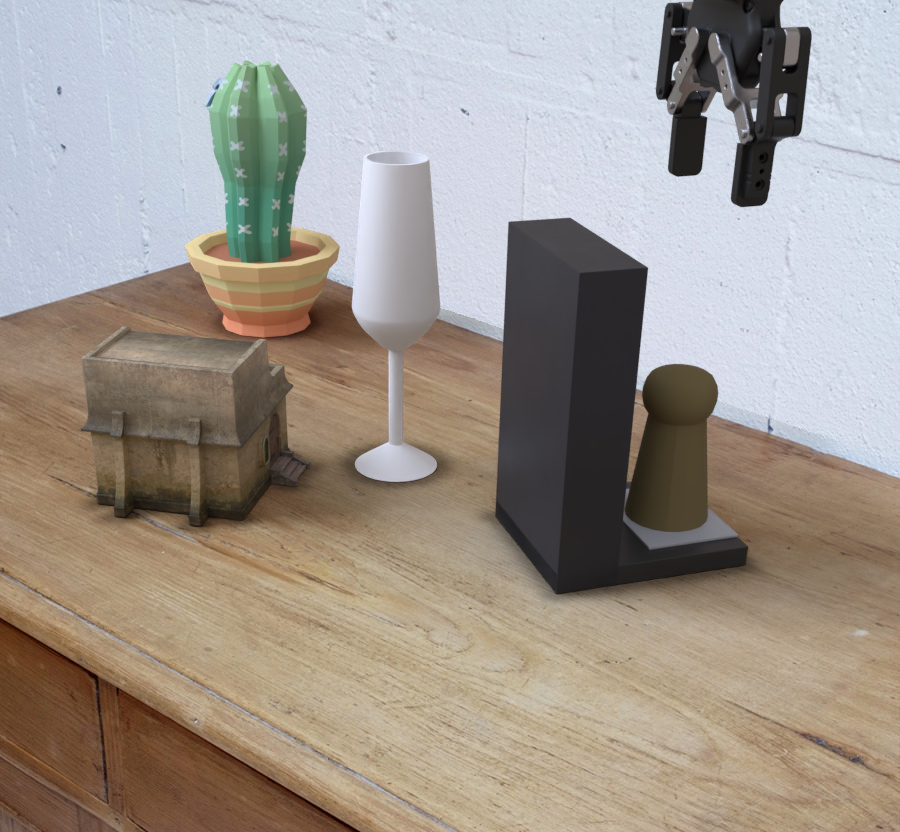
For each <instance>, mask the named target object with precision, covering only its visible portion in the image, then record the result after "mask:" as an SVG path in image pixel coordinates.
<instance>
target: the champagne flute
mask: <svg viewBox="0 0 900 832" xmlns="http://www.w3.org/2000/svg"><path fill="white" fill-rule="evenodd" d="M361 169H362V172H361V184H360V197H359V208H358V222H357V233H356V248H355V262H354V272H353V275H354V276H353V287H352V299H351V309H352V314H353V316H354V317H355V319H356V321H357V323H358V324H359V326H360V327H361V329H362V330H363V331H364V332H365V333H367V335H368V336H370V338H371V339H373V341H375V342H376V343H377V344H378V345H379V346H380V347H382V348H384V349H387V351H388V441H386V442H385V443H383V444H381V445H378V446H377V447H375V448H372V449H370V450H368V451H367V452H365V453H363V454H361V455H359V456H358V457H357V458H356V459H355V461H354V467H355V469H356V471H357V472H358V473H359V474H361V475H362V476H365V477H367V478H369V479H372V480H375V481H381V482H389V483H401V482H404V483H405V482H411V481H417V480H421V479H424V478H426V477H428V476H430V475H432V474H433V473H434V472H435V471H436V469H437V467H438V463H437V460H436V459H435V458H434V457H433V456H432V455H431V454H429V453H427V452H426V451H423V450H421V449H419V448H417V447H416V446H413V445H411V444H409V443H407V442H406V441H404V390H405V389H404V387H405V386H404V384H405V383H404V380H405V379H404V375H405V371H404V369H405V367H404V366H405V365H404V364H405V361H404V360H405V358H404V355H405V353H404V352H405V350H406V349H407V350H408V349H409V348H410V347H412V346H413V345H414V344H416V343H417V342H418V341H419V340H420V339H421V338H422V337H424V335H425V334H427V333H428V332H429V331H430V329H431V328H432V326H433V325H434V324H435V323H436V321H437V319H438V317H439V316H440V312H441V298H440V283H439V270H438V258H437V244H436V232H435V230H436V229H435V218H434V217H435V216H434V204H433V203H434V202H433V190H432V175H431V162H430V157H429V155H427V154H424V153H420V152H415V151H409V150H408V151H406V150H383V151H374V152H369V153H367V154H365V155H363V159H362V168H361Z"/></svg>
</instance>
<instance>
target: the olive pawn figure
mask: <svg viewBox="0 0 900 832" xmlns="http://www.w3.org/2000/svg"><path fill="white" fill-rule="evenodd" d="M718 398H719V386H718V383H717V381H716V379H715V377H714V376H713V374H712V373H710V372H709V371H708V370H706V369H705V368H702V367H699V366H696V365H693V364H687V363H670V364H663V365H660V366H657V367H655V368H654V369H652V370H651V371H650V372H649V373H648V375H647V376H646V378H645V380H644V382H643V385H642V390H641V399H642V404H643V407H644V409H645V411H646V412H647V416H646V421H645V424H644V425H645V426H644V429H643V432H642V437H641V441H640V444H639V449H638V453H637V456H636V461H635V464H634V465H635V466H634V469H633V474H632V477H631V480H630V482H631V485H630V489H629V493H628V497H627V501H626V505H625V509H624V510H625V513H626V516H627V517H628V518H629V519H630V520H631V521H633V522H635V523H636V524H638V525H640V526H643V527H646V528H649V529H652V530H658V531H664V532H682V531H689V530H693V529H696V528H698V527H701V526H702V525H703V524H704V523H705V522H706V521H707V518H708V508H709V503H708V502H709V496H708V495H709V494H708V492H709V490H708V489H709V487H708V486H709V485H708V481H709V480H708V419H709V417H710V416H711V415H712V414H713V413H714V411H715V408H716V406H717V403H718Z"/></svg>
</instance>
